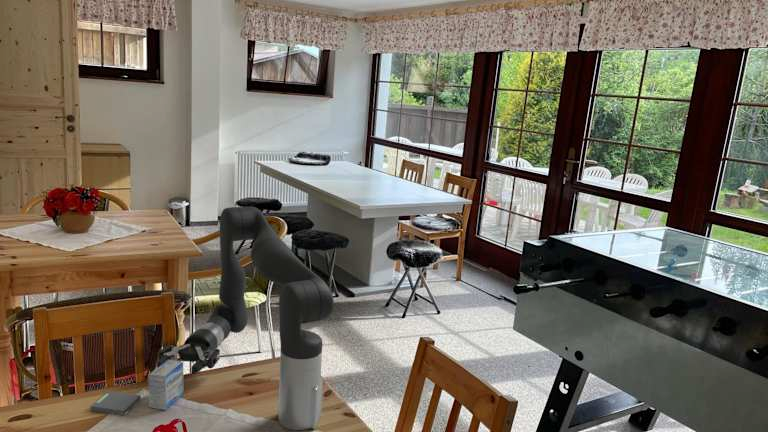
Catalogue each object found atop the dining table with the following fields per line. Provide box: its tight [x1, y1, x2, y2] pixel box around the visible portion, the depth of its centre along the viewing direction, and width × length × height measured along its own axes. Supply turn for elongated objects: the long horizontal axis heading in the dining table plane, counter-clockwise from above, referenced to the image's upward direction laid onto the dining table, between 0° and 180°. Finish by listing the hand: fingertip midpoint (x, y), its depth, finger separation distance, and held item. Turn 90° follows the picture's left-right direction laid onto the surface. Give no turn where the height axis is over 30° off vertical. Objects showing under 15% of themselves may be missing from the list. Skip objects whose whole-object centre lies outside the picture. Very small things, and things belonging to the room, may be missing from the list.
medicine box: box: [147, 360, 185, 411], centre depth 140 cm, size 8×4×9 cm, turn 168°
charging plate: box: [90, 390, 141, 416], centre depth 137 cm, size 8×7×1 cm
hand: (176, 368), depth 144 cm, fingers open, 8 cm apart
